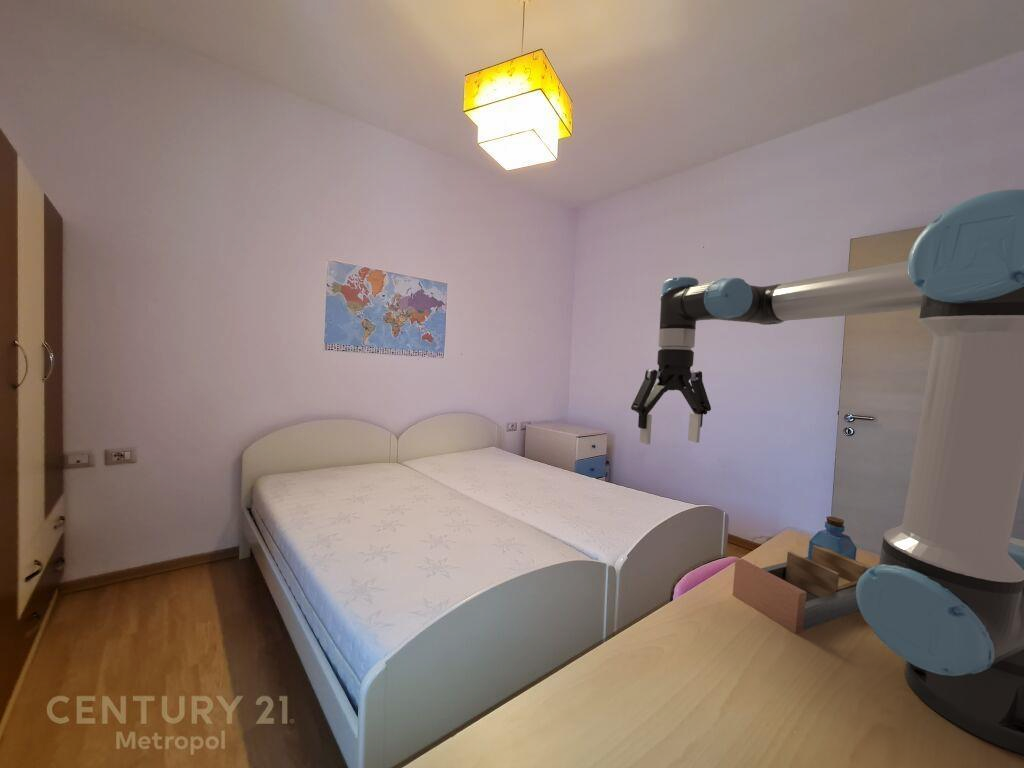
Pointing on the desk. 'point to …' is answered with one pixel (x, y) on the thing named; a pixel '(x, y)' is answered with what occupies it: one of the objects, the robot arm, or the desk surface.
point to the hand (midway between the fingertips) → (669, 442)
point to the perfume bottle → (834, 539)
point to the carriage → (823, 571)
